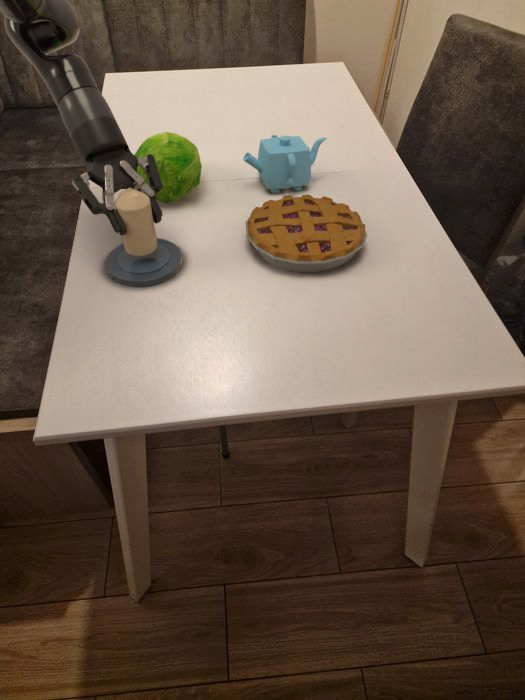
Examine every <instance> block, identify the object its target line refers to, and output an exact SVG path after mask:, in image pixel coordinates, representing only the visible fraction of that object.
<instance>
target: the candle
mask: <svg viewBox="0 0 525 700" xmlns="http://www.w3.org/2000/svg"><path fill="white" fill-rule="evenodd" d="M114 209H117V211H118V213H119V215H120V217H121V219H122V221H123V223H124V225H125V227H126V229H127V233H126V234H125V235H123V236H121V239H122V244H124V247H125V250H126V252H127V253H129V254H130V255H134V256H144V255H148V254H150V253H152V252H154V251H155V250H156V248H157V238H158V237H157V232H156V228H155V223H154V221H153V215H152V209H151V203H150V198H149V197H148V196H147V195H145V194H144V193H142V192H139V191H137V190H134V189H131V188H128V189H123V190H122V191H121V192H120V193H119V195H118V196H117V197H116V199H114Z"/></svg>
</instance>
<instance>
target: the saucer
mask: <svg viewBox="0 0 525 700" xmlns="http://www.w3.org/2000/svg"><path fill="white" fill-rule="evenodd" d="M156 238H157V248H156V250H155V251H154V252H152V253H150V254H148V255H144V256H134V255H130V254H129V253H127V252H126V250H125V247H124V244H123V243H121V244H118V245H117V246H115V247H114V248H113V249H112V250H111V251H110V252H109V253H108V254H107V256H106V259H105V268H106V272H107V274H108V276H109V277H110V278H111V279H112V280H113V281H115V282H117V283H118V284H121V285H123V286H128V287H133V288H134V287H137V288H138V287H139V288H141V287H142V288H143V287H151V286H155V285H159V284H161V283H164V282H166V281H169V280H170V279H172V278H173V277H174V276H176V275H177V274H178V273H179V271H180V270H181V268H182V265H183V255H182V251H181V249H180V248H179V246H177V245H176V244H175V243H174V242H171V241H170V240H168V239H164V238H158V237H156Z"/></svg>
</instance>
